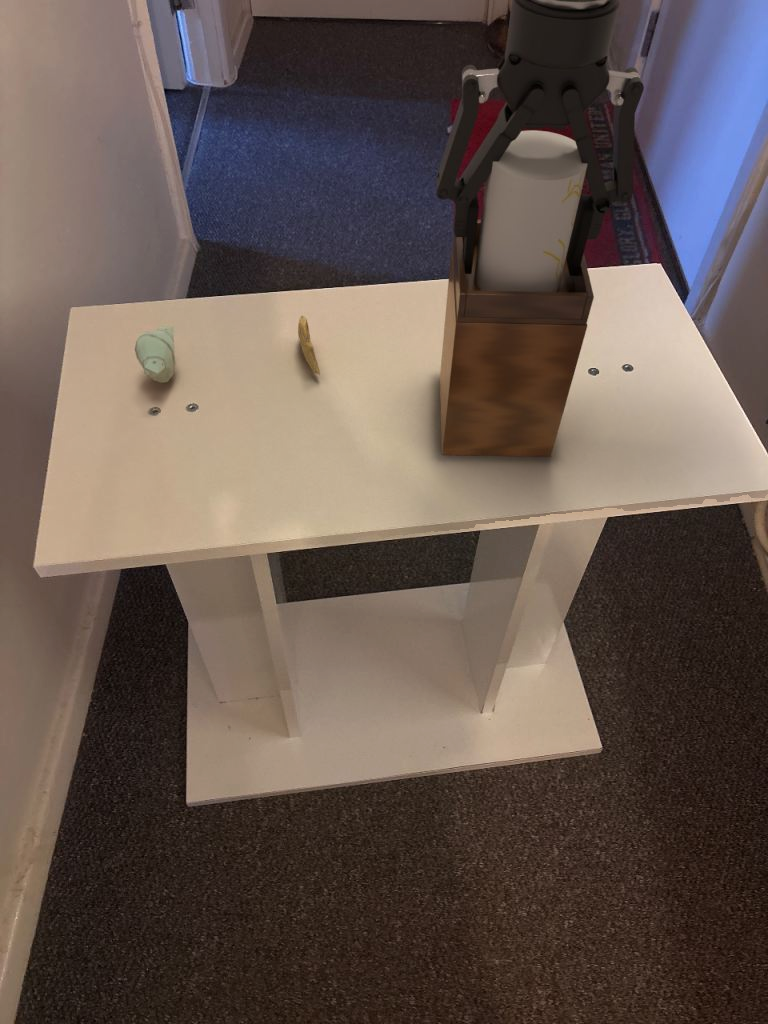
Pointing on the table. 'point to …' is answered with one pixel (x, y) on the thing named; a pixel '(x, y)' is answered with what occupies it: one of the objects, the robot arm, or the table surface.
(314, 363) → the pastry
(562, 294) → the holder
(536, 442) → the stand
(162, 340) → the pale green rounded piece
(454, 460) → the table surface
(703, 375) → the table surface
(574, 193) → the white patterned cylinder
